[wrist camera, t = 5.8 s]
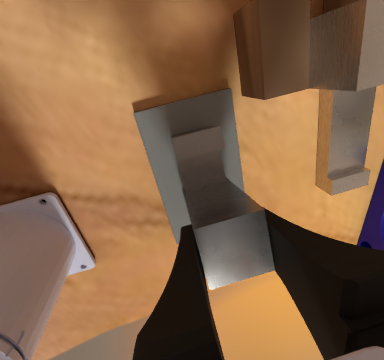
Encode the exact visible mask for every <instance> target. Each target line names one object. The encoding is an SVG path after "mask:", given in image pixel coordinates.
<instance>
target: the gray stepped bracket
mask: <svg viewBox="0 0 384 360" xmlns="http://www.w3.org/2000/svg"><path fill="white" fill-rule="evenodd" d="M171 139H172V143H173V147H174V150H175V154H176V158H177V161H178V165H179V169H180V172H181V176H182V180H183V183H184V187H183V188H182V192H183V195H184V199H185V203H186V206H187V210H188V213H189V217H190V221H191V224H192V228H193V231H194V235H195V239H196V242H197V246H198V249H199V253H200V257H201V260H202V264H203V268H204V271H205V275H206V278H207V282H208V285H209V289H210V290H212V289H215V288H219V287H222V286H225V285H228V284H232V283H235V282H238V281H241V280H245V279H248V278H251V277H254V276H257V275H261V274H264V273H267V272H270V271H274V270H275V268H274V262H273V256H272V251H271V245H270V239H269V233H268V227H267V222H266V216H265V210H264V208H262V207H261V206H260V205H259V204H258V203H256V202H255V201H254V200H253V199H252V198H250V197H249V196H248V195H247V194H246V193H244V192H243V191H242V190H241V189H240V188H238V187H237V186H236V185H235V184H234V183H232V182H231V181H230V180H229V179H228V178H226V177H225V172H224V167H223V163H222V158H221V153H220V150H221V149H225V145H224V140H223V135H222V130H221V126H207V127H203V128H199V129H195V130H192V131H188V132H184V133H180V134H177V135H173V136H171Z"/></svg>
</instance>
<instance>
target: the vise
mask: <svg viewBox="0 0 384 360" xmlns="http://www.w3.org/2000/svg"><path fill="white" fill-rule="evenodd" d="M356 1H359V0H324V11H323V14H324V13H327V12H330V11H332V10H335V9H338V8H340V7H343V6H346V5H348V4H351V3H354V2H356ZM310 5H311V0H251V1H250V2H249V3H247V4H246V5H245V6H244V7H242V8H241V9H240V10H238V11H237V12H236V13H235V14H233V16H234V26H235V35H236V44H237V53H238V63H239V72H240V81H241V91H242V96H246V97H251V98H257V99H262V100H267V99H270V98H274V97H278V96H282V95H286V94H290V93H293V92H297V91H301V90H305V89H309V50H310Z"/></svg>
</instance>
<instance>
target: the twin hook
mask: <svg viewBox="0 0 384 360" xmlns="http://www.w3.org/2000/svg"><path fill="white" fill-rule="evenodd" d="M382 84H384V0H359V1H356V2H354V3H351V4H348V5H346V6H343V7H340V8H338V9H335V10H332V11H330V12H327V13H324V14H322V15H319V16H316V17H314V18H311V19H310V50H309V89H320V101H319V124H318V146H317V169H316V186H317V187H319V188H320V189H322V190H323V191H325V192H326V193H328V194H330V195H331V196H332V195H335V194H338V193H342V192H345V191H349V190H352V189H355V188H359V187H362V186H365V185H368V180H369V174H370V169H367V168H365V167H364V164H365V158H366V151H367V145H368V138H369V132H370V125H371V119H372V112H373V106H374V99H375V92H376V86H378V85H382Z"/></svg>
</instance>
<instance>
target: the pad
mask: <svg viewBox="0 0 384 360" xmlns="http://www.w3.org/2000/svg"><path fill="white" fill-rule="evenodd" d="M133 114H134V117H135V120H136V123H137V126H138V129H139V132H140V135H141V138H142V141H143V144H144V147H145V150H146V153H147V156H148V159H149V162H150V165H151V168H152V171H153V174H154V177H155V180H156V183H157V186H158V189H159V192H160V195H161V198H162V201H163V204H164V207H165V210H166V213H167V216H168V219H169V222H170V225H171V228H172V231H173V234H174V237H175V240H176V243H177V244H178V243H179V241H180V229H181V227H183V226H186V225H190V224H191V221H190V217H189V213H188V210H187V206H186V203H185V199H184V195H183V192H182V188H183V187H184V183H183V180H182V176H181V172H180V169H179V165H178V161H177V158H176V154H175V150H174V147H173V143H172V139H171V136H173V135H177V134H180V133H184V132H188V131H192V130H195V129H199V128H203V127H207V126H221V130H222V135H223V140H224V145H225V149H221V150H220V153H221V158H222V163H223V167H224V172H225V177H226V178H228V179H229V180H230V181H231V182H232V183H234V184H235V185H236V186H237V187H238V188H240V189H241V190H242V191H243V192H244V185H243V177H242V169H241V161H240V154H239V146H238V138H237V130H236V122H235V114H234V106H233V99H232V91H231V88H227V89H223V90H219V91H216V92H212V93H208V94H204V95H200V96H196V97H192V98H188V99H184V100H180V101H176V102H172V103H169V104H165V105H161V106H157V107H153V108H149V109H145V110H141V111H137V112H134V113H133Z"/></svg>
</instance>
